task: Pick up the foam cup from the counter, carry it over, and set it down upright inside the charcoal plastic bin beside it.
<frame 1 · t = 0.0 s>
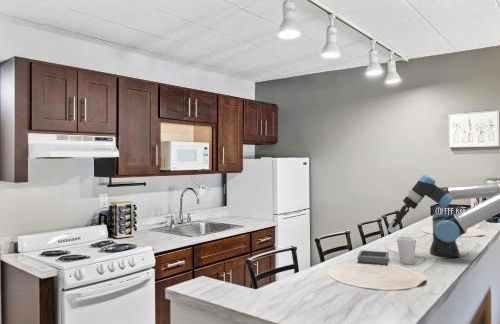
hand: (389, 229, 221), 15 cm above the counter, tool tilted 35°, fingers open, 13 cm apart
foam cup: (406, 263, 206), on the counter
bin: (373, 260, 212), on the counter
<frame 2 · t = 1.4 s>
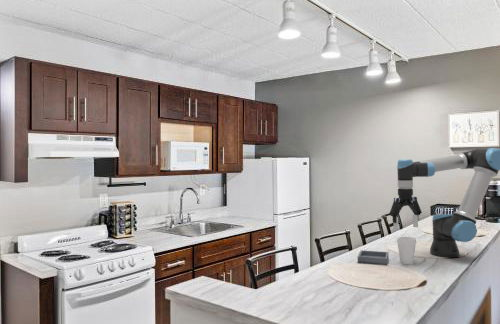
hand: (405, 228, 206), 19 cm above the counter, tool pointing down, fingers open, 13 cm apart
nothing on the counter moved.
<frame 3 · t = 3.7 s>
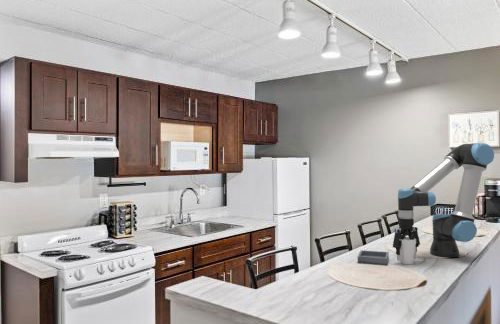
hand: (406, 259, 206), 2 cm above the counter, tool pointing down, fingers closed on foam cup, 9 cm apart
foam cup: (406, 263, 206), on the counter, touching gripper
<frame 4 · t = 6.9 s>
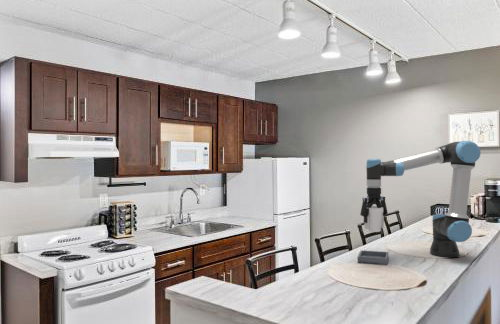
hand: (374, 228, 211), 18 cm above the counter, tool pointing down, fingers closed on foam cup, 9 cm apart
foam cup: (374, 231, 211), point 16 cm above the counter, touching gripper
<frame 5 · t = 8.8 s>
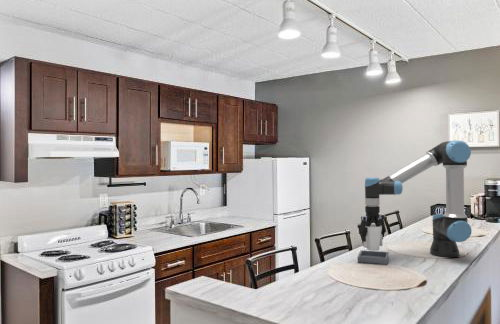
hand: (372, 246, 212), 8 cm above the counter, tool pointing down, fingers closed on foam cup, 9 cm apart
foam cup: (373, 249, 212), point 6 cm above the counter, touching gripper
when the fingers open (5 cm above the counter, at t = 10.4 s): foam cup drops 2 cm, resting on bin.
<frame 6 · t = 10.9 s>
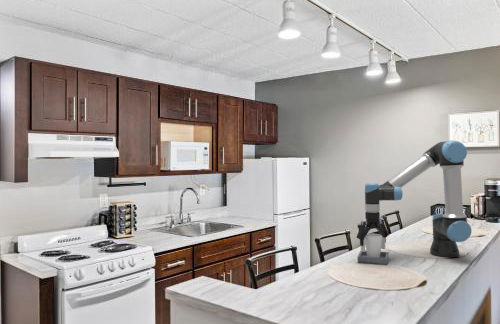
hand: (373, 250, 212), 6 cm above the counter, tool pointing down, fingers open, 13 cm apart
foam cup: (373, 259, 212), point 1 cm above the counter, touching bin
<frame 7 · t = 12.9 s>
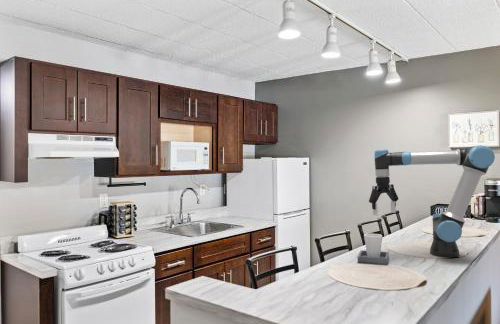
hand: (384, 213, 220), 24 cm above the counter, tool pointing down, fingers open, 13 cm apart
nothing on the counter moved.
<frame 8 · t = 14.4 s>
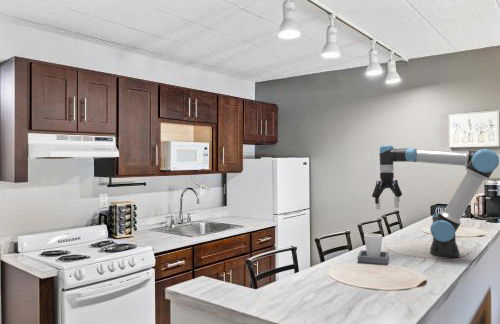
hand: (387, 208, 225), 27 cm above the counter, tool pointing down, fingers open, 13 cm apart
nothing on the counter moved.
at the end: foam cup inside the target area on the bin (0.1 cm from its centre), point 0.8 cm above the bin's base; foam cup tilted 0°; the gripper is holding nothing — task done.
